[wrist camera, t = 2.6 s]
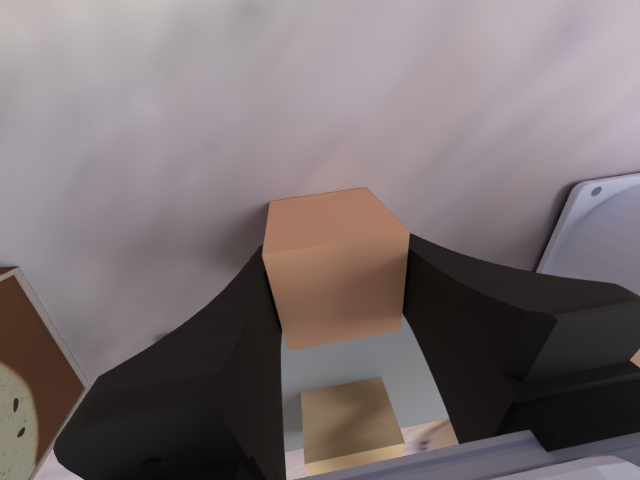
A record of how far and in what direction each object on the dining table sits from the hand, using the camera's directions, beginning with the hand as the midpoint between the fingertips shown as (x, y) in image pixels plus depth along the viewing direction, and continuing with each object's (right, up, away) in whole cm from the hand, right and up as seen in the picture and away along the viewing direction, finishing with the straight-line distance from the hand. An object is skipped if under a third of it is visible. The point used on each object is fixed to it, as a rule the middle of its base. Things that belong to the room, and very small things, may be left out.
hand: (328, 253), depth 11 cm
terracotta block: (0, +1, +1) cm, 2 cm away
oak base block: (+1, -12, +9) cm, 15 cm away
